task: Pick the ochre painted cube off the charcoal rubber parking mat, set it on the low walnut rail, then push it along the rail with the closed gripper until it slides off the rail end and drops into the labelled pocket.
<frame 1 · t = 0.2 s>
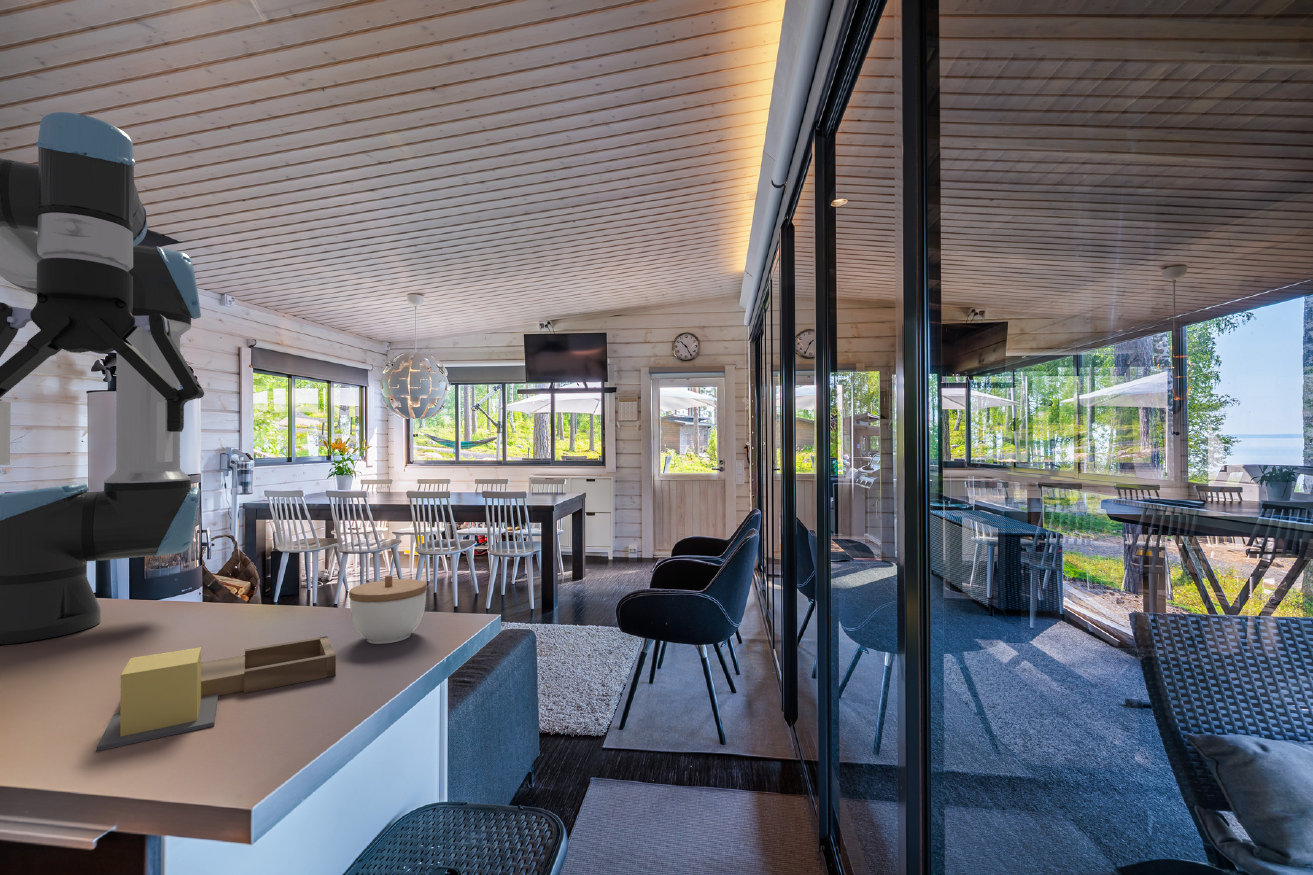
hand: (84, 463, 64), 27 cm above the kitchen island, fingers open, 13 cm apart
parking mat: (163, 721, 63), on the kitchen island
flange rail: (244, 680, 75), on the kitchen island
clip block: (163, 688, 63), point 3 cm above the kitchen island, touching parking mat
lidded jar: (388, 639, 91), on the kitchen island
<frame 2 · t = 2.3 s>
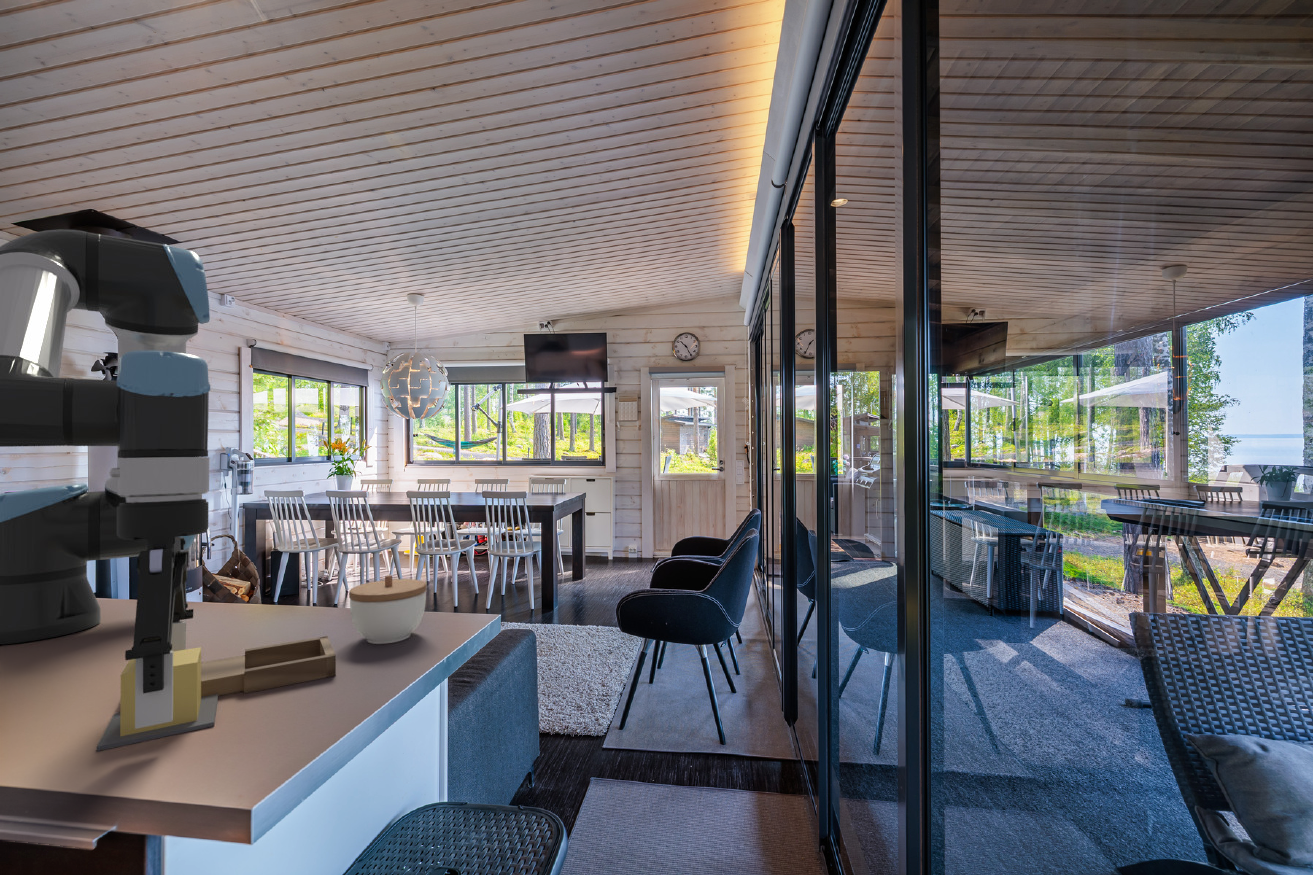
hand: (163, 702, 63), 2 cm above the kitchen island, fingers open, 13 cm apart
nothing on the kitchen island moved.
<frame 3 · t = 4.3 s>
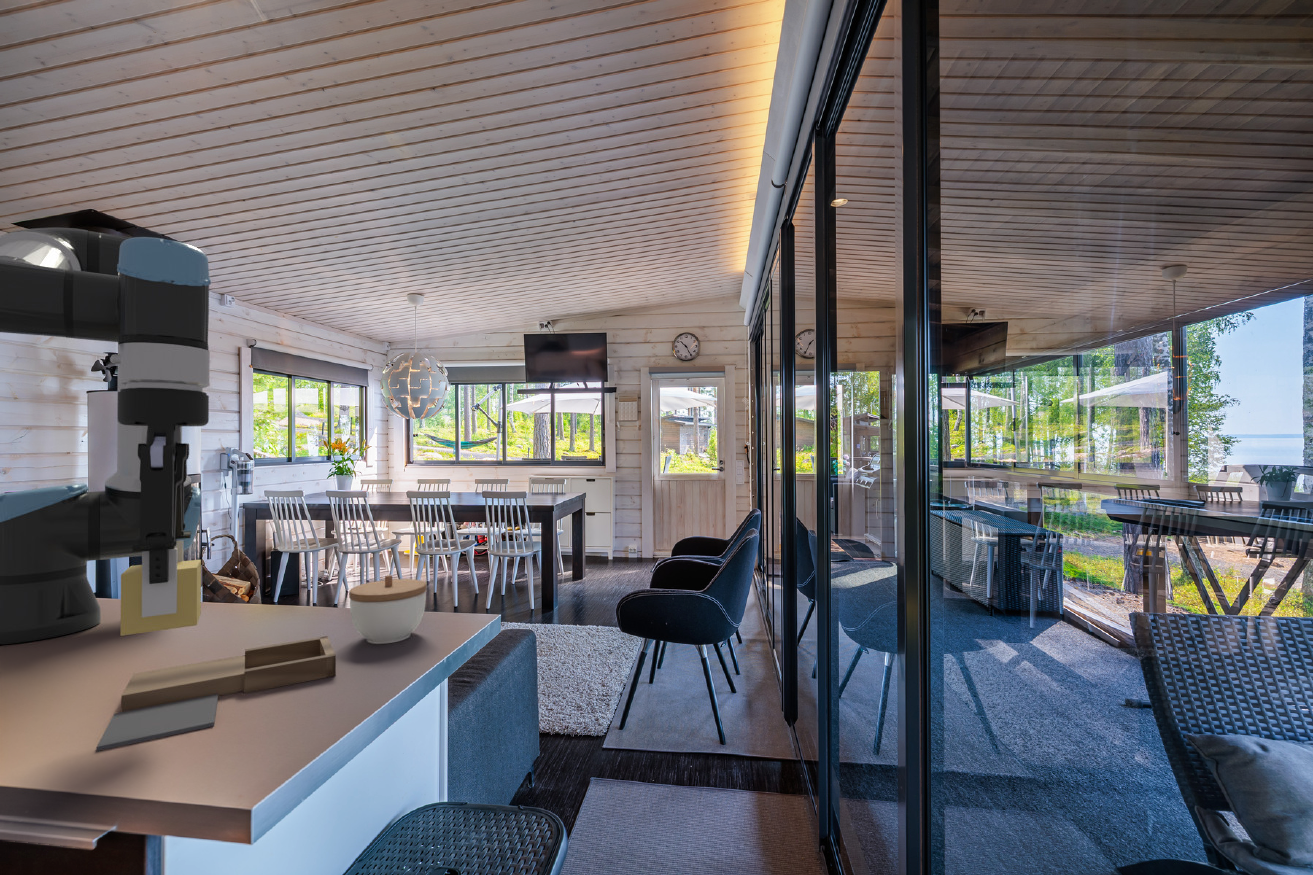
hand: (163, 606, 64), 12 cm above the kitchen island, fingers closed on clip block, 6 cm apart
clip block: (163, 595, 64), point 13 cm above the kitchen island, touching gripper
everything else where it was.
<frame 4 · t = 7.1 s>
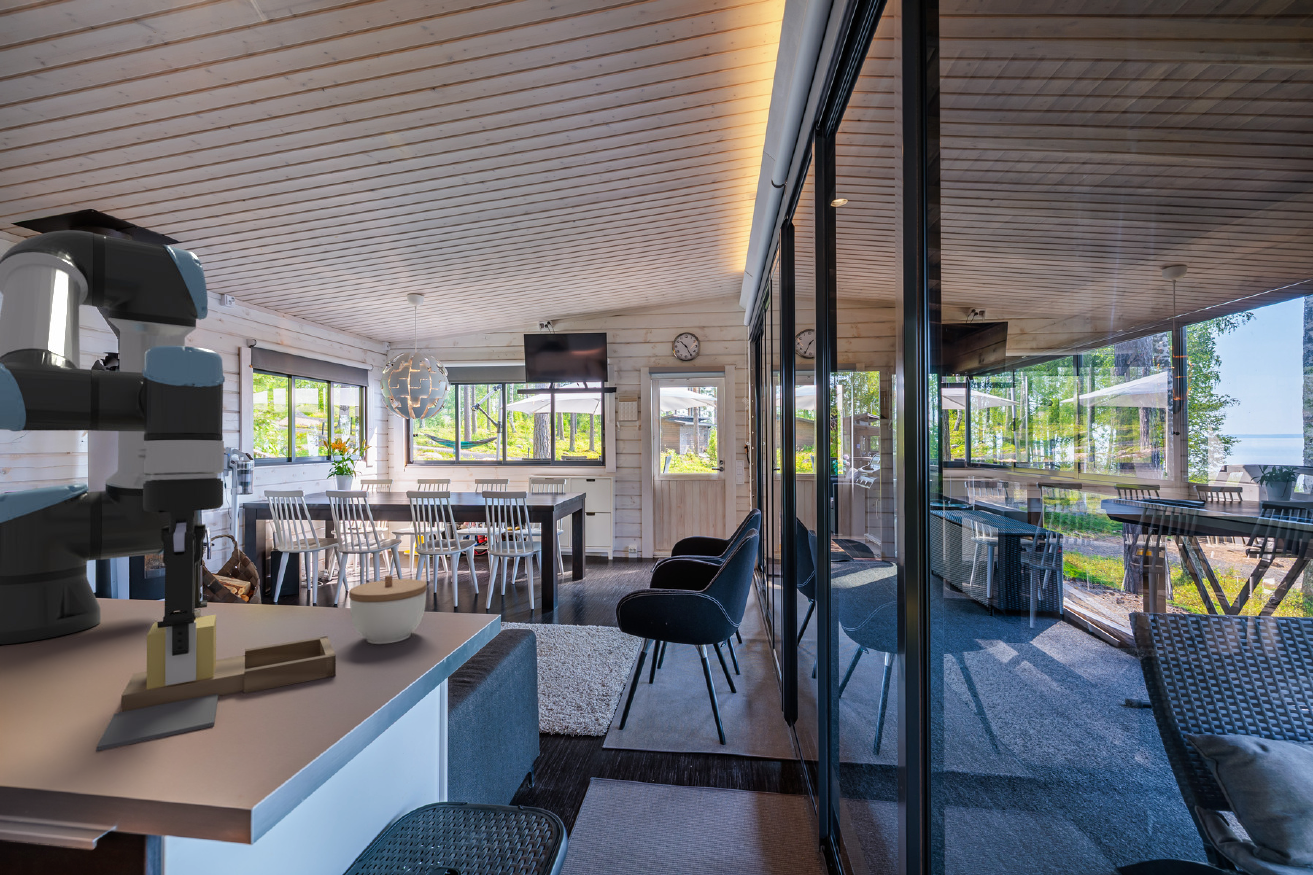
hand: (183, 672, 71), 2 cm above the kitchen island, fingers closed on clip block, 6 cm apart
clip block: (183, 649, 71), point 5 cm above the kitchen island, touching flange rail, gripper
everything else where it was.
when the fingers open (2 cm above the kitchen island, at t = 7.1 s): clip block moves 2 cm, point 5 cm above the kitchen island.
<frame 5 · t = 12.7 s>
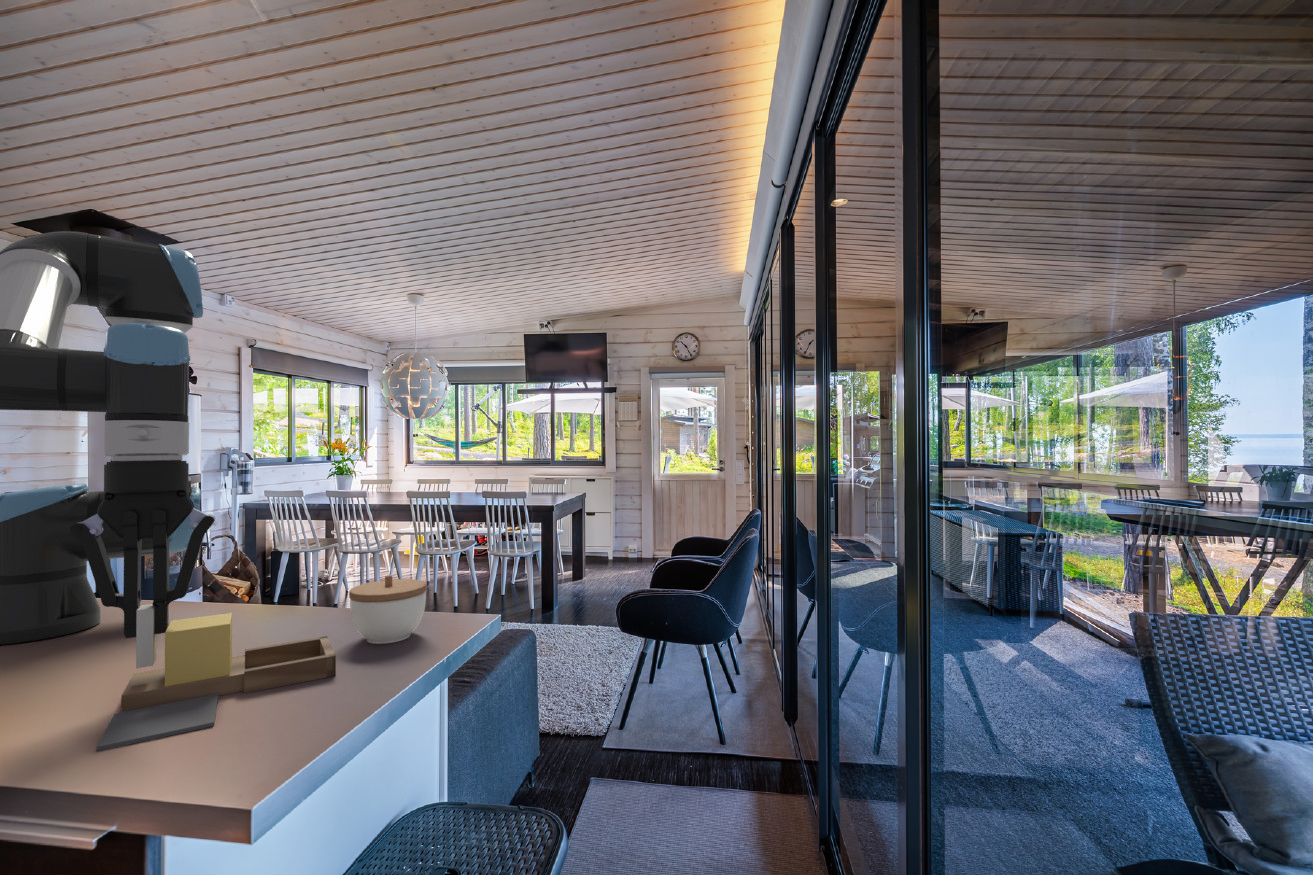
hand: (146, 663, 69), 4 cm above the kitchen island, fingers closed
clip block: (200, 647, 72), point 5 cm above the kitchen island
everything else where it was.
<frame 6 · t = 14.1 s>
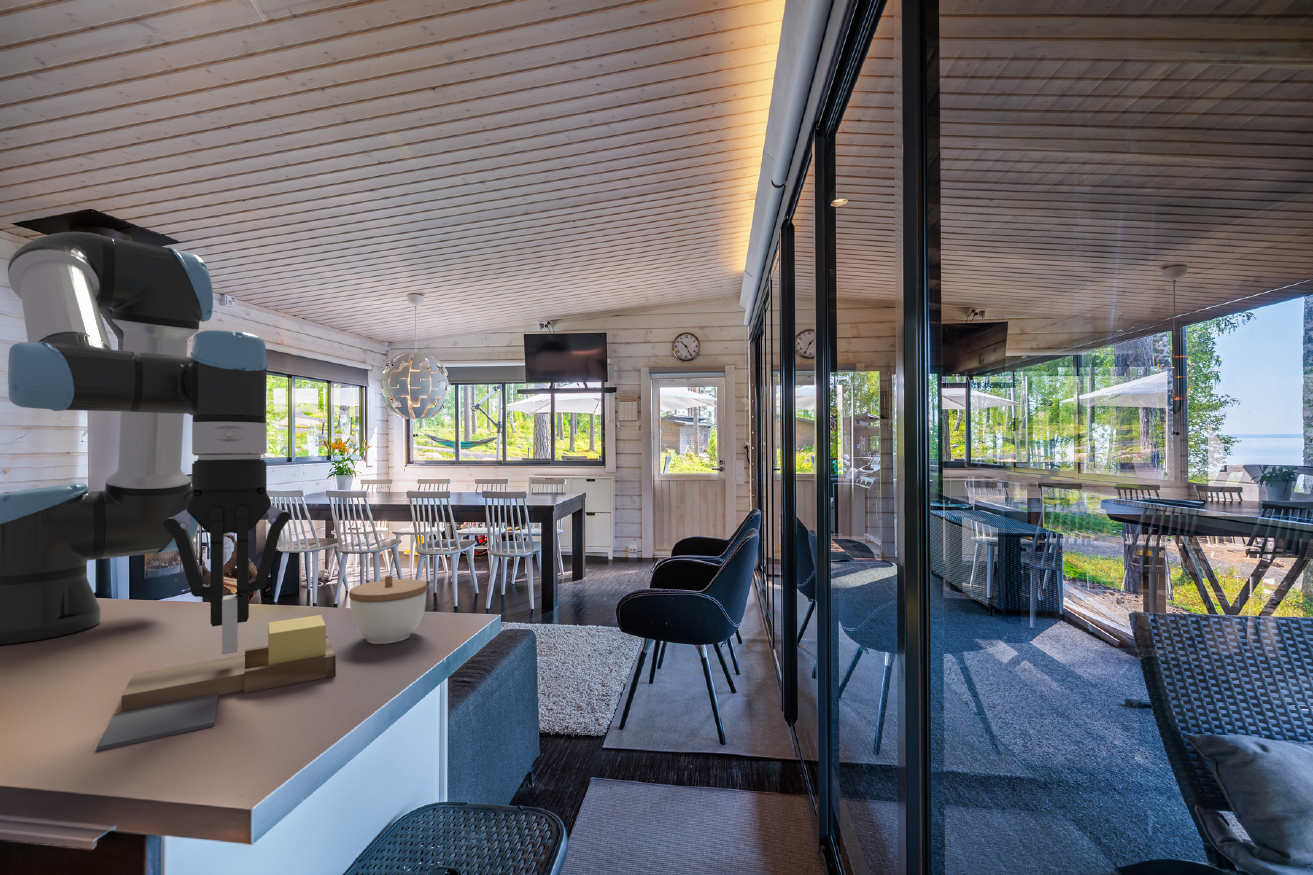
hand: (230, 650, 74), 4 cm above the kitchen island, fingers closed
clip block: (296, 647, 77), point 3 cm above the kitchen island, tilted 90°, touching flange rail
everything else where it was.
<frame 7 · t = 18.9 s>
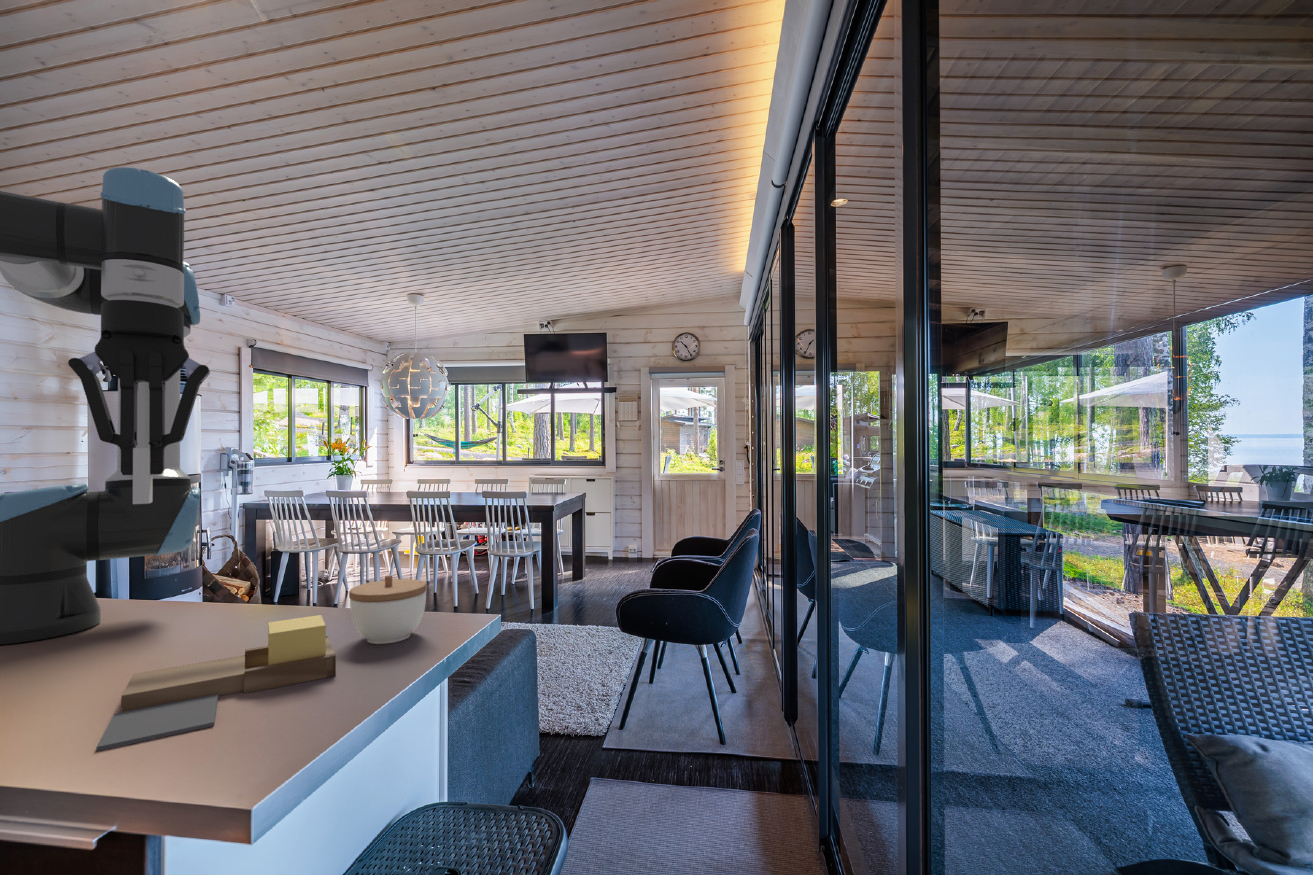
hand: (142, 502, 71), 22 cm above the kitchen island, fingers closed
nothing on the kitchen island moved.
at the end: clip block inside the target area (1.1 cm from its centre), point 3.2 cm above the kitchen island; the gripper is holding nothing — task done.
